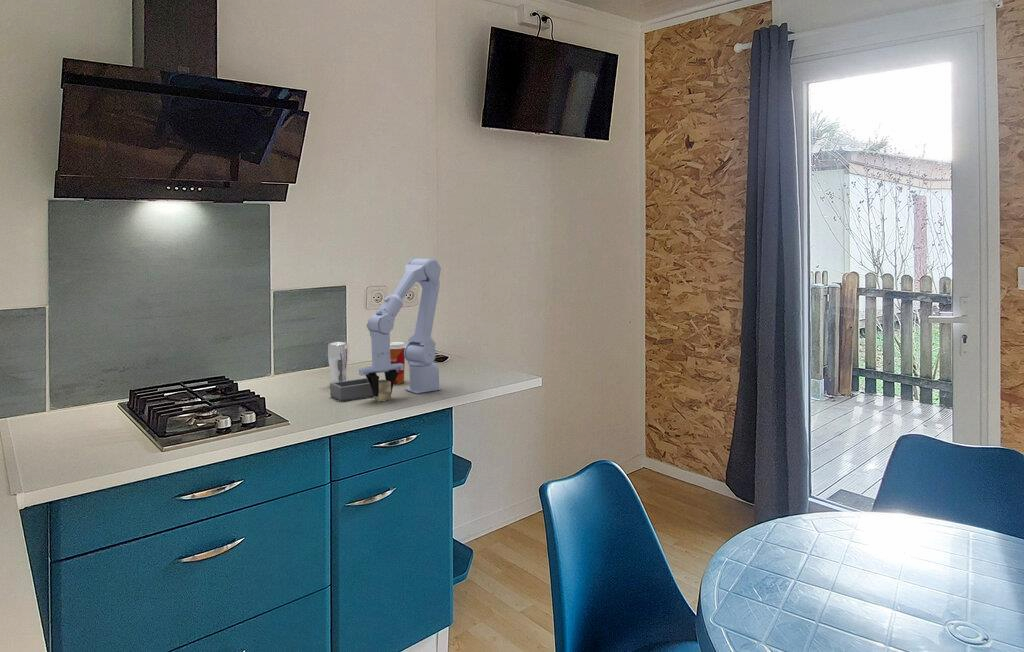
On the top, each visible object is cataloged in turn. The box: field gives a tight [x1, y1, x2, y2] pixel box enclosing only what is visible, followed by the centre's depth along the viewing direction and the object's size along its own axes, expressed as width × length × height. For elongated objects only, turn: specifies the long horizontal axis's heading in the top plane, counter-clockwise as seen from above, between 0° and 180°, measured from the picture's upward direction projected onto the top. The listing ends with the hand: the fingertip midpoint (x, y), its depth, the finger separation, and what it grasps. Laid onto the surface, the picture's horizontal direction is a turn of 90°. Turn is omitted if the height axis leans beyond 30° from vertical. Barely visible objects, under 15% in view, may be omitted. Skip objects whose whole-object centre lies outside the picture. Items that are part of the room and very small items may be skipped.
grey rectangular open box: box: [329, 377, 373, 403], centre depth 222 cm, size 13×8×4 cm, turn 126°
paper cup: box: [390, 341, 407, 385], centre depth 241 cm, size 8×8×14 cm
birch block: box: [373, 379, 392, 403], centre depth 217 cm, size 4×4×6 cm
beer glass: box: [327, 341, 350, 383], centre depth 236 cm, size 7×7×15 cm
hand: (382, 394), depth 217 cm, fingers closed on birch block, 4 cm apart
